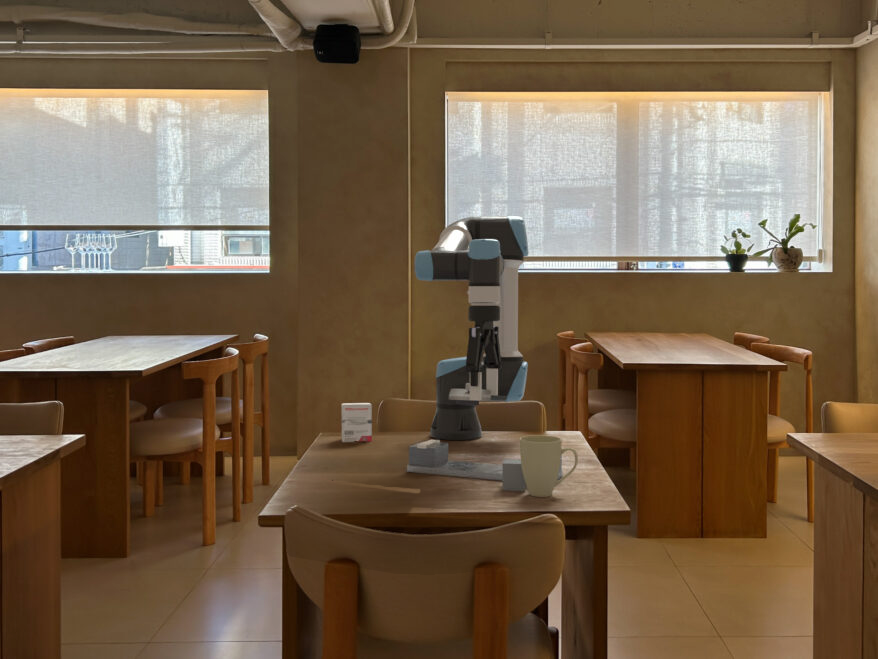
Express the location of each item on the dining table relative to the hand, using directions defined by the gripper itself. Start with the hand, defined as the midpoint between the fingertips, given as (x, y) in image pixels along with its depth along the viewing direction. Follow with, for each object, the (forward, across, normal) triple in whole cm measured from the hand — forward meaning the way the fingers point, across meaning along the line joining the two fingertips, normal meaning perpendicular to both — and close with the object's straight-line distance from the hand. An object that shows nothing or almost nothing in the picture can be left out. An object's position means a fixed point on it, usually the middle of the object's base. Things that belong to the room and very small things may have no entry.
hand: (484, 397), depth 201 cm
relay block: (+19, +11, +12) cm, 24 cm away
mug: (+19, +14, +20) cm, 30 cm away
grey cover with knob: (+2, -1, 0) cm, 3 cm away
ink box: (+19, -24, -48) cm, 57 cm away
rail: (+18, 0, 0) cm, 18 cm away
